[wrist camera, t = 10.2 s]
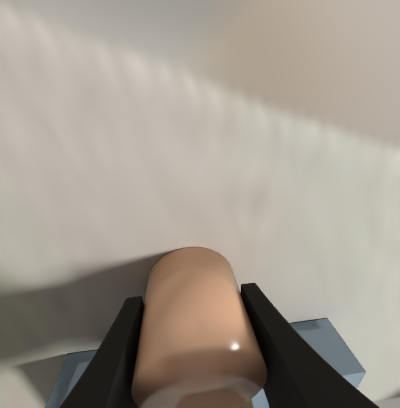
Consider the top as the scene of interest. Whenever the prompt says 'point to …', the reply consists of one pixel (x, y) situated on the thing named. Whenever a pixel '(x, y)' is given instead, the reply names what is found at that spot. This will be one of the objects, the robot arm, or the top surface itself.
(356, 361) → the tote
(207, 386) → the peach rounded part
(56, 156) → the top surface
